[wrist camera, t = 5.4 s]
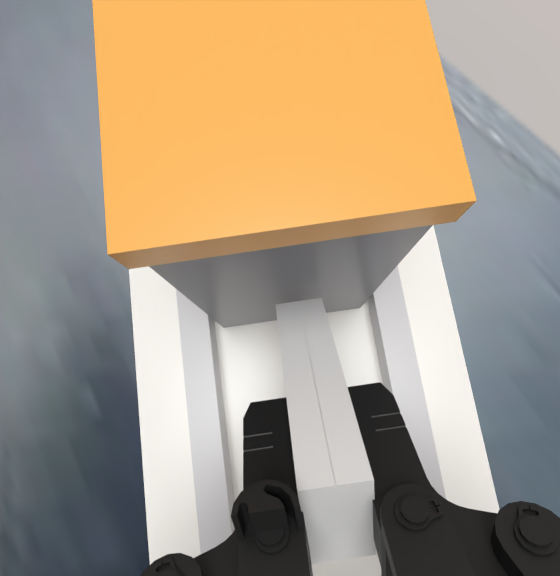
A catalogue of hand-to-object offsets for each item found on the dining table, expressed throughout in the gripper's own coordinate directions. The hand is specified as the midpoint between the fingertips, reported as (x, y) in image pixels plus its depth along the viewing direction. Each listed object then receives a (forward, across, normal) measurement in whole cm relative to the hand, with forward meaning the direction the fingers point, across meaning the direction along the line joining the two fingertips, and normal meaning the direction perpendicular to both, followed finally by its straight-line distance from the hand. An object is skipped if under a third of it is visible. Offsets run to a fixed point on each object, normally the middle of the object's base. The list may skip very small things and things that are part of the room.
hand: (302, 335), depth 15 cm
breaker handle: (+6, 0, 0) cm, 6 cm away
